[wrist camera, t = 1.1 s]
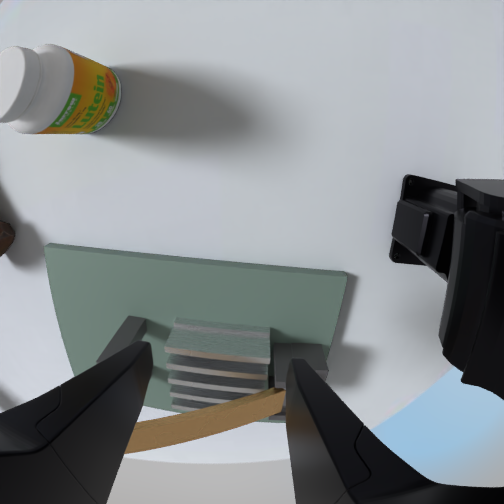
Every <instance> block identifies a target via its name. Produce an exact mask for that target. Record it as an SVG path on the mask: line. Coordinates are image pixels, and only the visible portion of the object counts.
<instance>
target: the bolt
mask: <svg viewBox="0 0 504 504" xmlns="http://www.w3.org/2000/svg"><path fill="white" fill-rule="evenodd" d="M14 237H15V232H14V231H13V229H12V227H11V225H10V224H9V223H5V222H1V221H0V257H1V256H2V255H3V254H4V253H5V252H6V251H7V250H8V249H9V247H10V246H11V244H12V243H13V240H14Z"/></svg>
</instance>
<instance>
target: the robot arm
mask: <svg viewBox="0 0 504 504" xmlns="http://www.w3.org/2000/svg"><path fill="white" fill-rule="evenodd" d="M410 178H411V180H412V183H411V184H410V185H409V183H408V181H409V179H410ZM392 237H393V240H392V244H391V249H390V253H389V257H390V259H391V260H392V261H393V262H395V263H404V264H414V265H425V266H428V267H429V268H431V269H432V270H433V271H434V272H435V273H437V274H438V275H439V276H440V277H441V278H443V279H444V280H445V281H446V282H447V283H448V284H447V291H446V297H445V302H444V308H443V313H442V318H441V323H440V328H439V338H440V341H441V344H442V347H443V352H442V353H443V355H444V356H445V358H446V359H447V360H448V361H449V362H450V363H451V364H452V365H453V366H455V367H456V368H457V369H459V370H460V371H462V372H463V375H462V378H461V382H462V383H464V384H469V385H474V386H479V387H481V388H484V389H486V390H488V391H491V392H493V393H494V394H496V395H497V396H499V397H500V398H502V399H503V400H504V180H499V179H456V186H454V185H450V184H447V183H443V182H439V181H435V180H431V179H427V178H423V177H419V176H414V175H410V174H407V175H405V177H404V178H403V183H402V190H401V196H400V201H399V202H398V203H397V208H396V214H395V220H394V225H393V230H392ZM396 253H398V256H397V257H396V258H394V255H395V254H396ZM152 369H153V355H152V347H151V344H150V342H148V341H142V340H137V341H135V342H134V343H132V344H130V345H129V346H127V347H125V348H123V349H122V350H120V351H118V352H117V353H115V354H113V355H111V356H110V357H108V358H106V359H105V360H103V361H101V362H99V363H98V364H96V365H94V366H92V367H91V368H89V369H87V370H86V371H84V372H82V373H80V374H79V375H77V376H75V377H73V378H72V379H70V380H68V381H66V382H65V383H63V384H61V385H60V386H57V387H56V388H54V389H52V390H50V391H48V392H47V393H45V394H43V395H41V396H39V397H37V398H35V399H33V400H30V401H28V402H26V403H24V404H21V405H19V406H17V407H14V408H12V409H9V410H7V411H4V412H2V413H0V504H106V503H107V500H108V497H109V494H110V492H111V489H112V486H113V483H114V480H115V478H116V475H117V472H118V469H119V467H120V464H121V461H122V458H123V456H124V453H125V451H126V448H127V445H128V443H129V440H130V437H131V435H132V432H133V430H134V427H135V425H136V422H137V420H138V417H139V414H140V412H141V409H142V406H143V403H144V400H145V396H146V392H147V388H148V384H149V380H150V377H151V373H152ZM286 430H287V438H288V445H289V453H290V460H291V467H292V476H293V483H294V491H295V499H296V504H504V487H494V488H493V487H468V486H456V485H446V484H440V483H436V482H434V481H431V480H429V479H427V478H426V477H424V476H423V475H421V474H420V473H419V472H417V471H416V470H415V469H414V468H412V467H411V466H410V465H408V464H407V463H406V462H405V461H403V460H402V459H401V458H400V457H399V456H397V455H396V454H395V453H394V452H392V451H391V450H390V449H389V448H388V447H387V446H386V445H384V444H383V443H382V442H381V441H380V440H379V439H378V438H377V437H376V436H375V435H374V434H373V433H372V432H371V431H370V430H369V429H368V428H367V427H366V426H365V425H364V424H363V422H362V421H361V420H360V419H359V418H358V417H357V416H356V415H355V414H354V413H353V412H352V411H351V410H350V408H349V407H348V406H347V405H346V404H345V403H344V402H343V401H342V400H341V399H340V398H339V397H338V395H337V394H336V393H335V392H334V391H333V390H332V389H331V388H330V387H329V386H328V384H327V383H326V382H325V381H324V380H323V379H322V378H321V377H320V376H319V374H318V373H317V372H316V371H315V370H314V369H313V368H312V367H311V366H310V364H309V363H308V362H307V361H306V360H305V359H304V358H291V359H290V362H289V367H288V372H287V376H286Z"/></svg>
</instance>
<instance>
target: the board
mask: <svg viewBox="0 0 504 504" xmlns="http://www.w3.org/2000/svg"><path fill="white" fill-rule="evenodd" d="M44 253H45V260H46V267H47V273H48V278H49V284H50V289H51V294H52V298H53V303H54V307H55V312H56V316H57V320H58V324H59V328H60V331H61V335H62V339H63V342H64V345H65V349H66V352H67V355H68V358H69V362H70V365H71V368H72V371H73V373H74V376H77V375H79V374H80V373H82V372H84V371H86V370H87V369H89V368H91V367H92V366H94V365H96V361H97V359H98V358H99V356H100V355H101V353H102V352H103V350H104V349H105V348H106V346H107V345H108V343H109V342H110V340H111V339H112V338H113V336H114V335H115V333H116V332H117V330H118V329H119V328H120V326H121V325H122V324H123V322H124V321H125V319H126V318H127V317H128V315H129V316H135V317H142V318H146V326H147V332H146V333H145V335H144V337H143V338H142V341H148V342H150V344H151V347H152V355H153V369H152V372H153V375H152V377H151V379H150V381H149V384H148V388H147V392H146V396H145V400H144V403H143V406H147V407H152V408H157V409H162V410H167V411H173V412H178V413H186V412H190V411H185V410H179V409H173V408H172V407H171V403H172V400H173V397H171V396H170V389H171V386H172V384H171V383H168V376H169V374H170V371H171V369H168V368H167V367H166V362H167V360H168V357H169V355H170V353H167V352H165V347H164V346H165V344H166V342H167V340H168V338H169V335H170V333H171V331H172V329H173V327H174V321H175V319H176V317H178V318H186V319H194V320H202V321H211V322H220V323H230V324H240V325H251V326H263V327H270V364H268V376H267V380H265V390H267V389H268V377H269V376H274V355H273V347H274V343H290V344H291V343H311V344H321V345H322V348H323V352H324V355H325V359H326V360H327V357H328V353H329V350H330V346H331V342H332V339H333V335H334V331H335V328H336V324H337V320H338V316H339V312H340V308H341V304H342V300H343V295H344V291H345V287H346V282H347V278H348V277H347V275H346V274H345V272H343V271H331V270H319V269H308V268H296V267H285V266H273V265H262V264H251V263H240V262H230V261H219V260H209V259H198V258H188V257H178V256H168V255H158V254H148V253H138V252H128V251H119V250H109V249H100V248H91V247H81V246H72V245H63V244H54V243H49V244H48V245H46V246H44ZM255 422H271V423H286V421H280V420H268V417H266V418H263V419H260V420H258V421H255Z"/></svg>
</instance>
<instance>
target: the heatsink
mask: <svg viewBox="0 0 504 504" xmlns="http://www.w3.org/2000/svg"><path fill="white" fill-rule="evenodd" d="M164 347H165V352H167V353H170V355H169V357H168V360H167V362H166V367H167V368H168V369H171V371H170V374H169V376H168V383H171V384H172V386H171V389H170V396H171V397H173V400H172V403H171V407H172V408H173V409H179V410H185V411H195V410H199V409H203V408H207V407H210V406H214V405H218V404H222V403H225V402H229V401H232V400H236V399H239V398H242V397H245V396H249V395H252V394H255V393H258V392H261V391H264V390H265V380H267V376H268V364H270V327H263V326H251V325H240V324H230V323H220V322H211V321H202V320H194V319H186V318H178V317H176V319H175V321H174V327H173V329H172V331H171V333H170V335H169V338H168V340H167V342H166V344H165V346H164Z"/></svg>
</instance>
